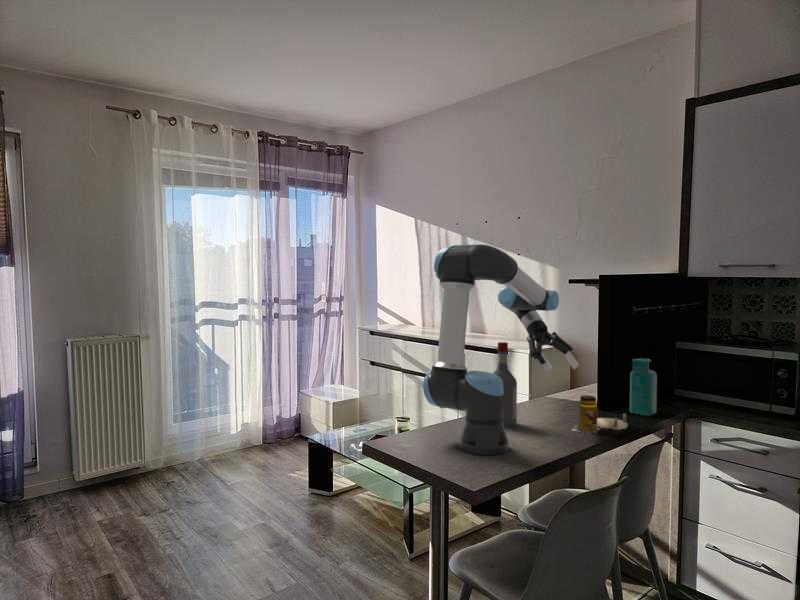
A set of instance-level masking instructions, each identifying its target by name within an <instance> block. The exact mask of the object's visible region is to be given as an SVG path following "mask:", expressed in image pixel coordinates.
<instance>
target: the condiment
mask: <svg viewBox="0 0 800 600" xmlns="http://www.w3.org/2000/svg"><path fill="white" fill-rule="evenodd" d="M579 397H580V401H579V404H578V405H579V406H578V425H577V424H576V425H574V426H573V427H574V428H575V429H574V428H572V429H570V431H573V432H580V433H584V432H596V431H597V429H598V431H599V430H600V428H598V427H597V418H598V406H597V405H598V404H597V397H596V396H593V395H585V394H584V395H581V396H579ZM576 427H578V428H579V429H578V428H577V429H578V430H580V431H578V430H577V429H576ZM581 431H582V432H581ZM595 434H597V433H595ZM595 434H594V435H595Z"/></svg>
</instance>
